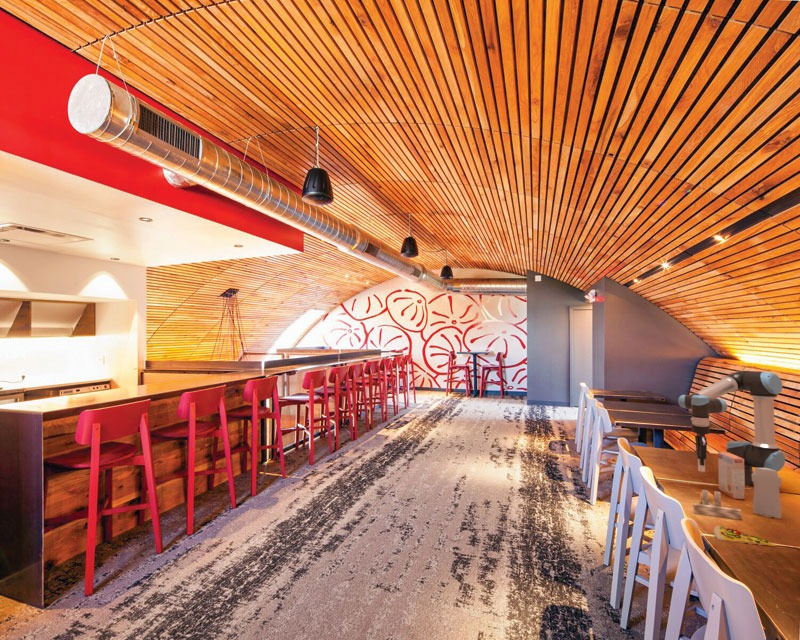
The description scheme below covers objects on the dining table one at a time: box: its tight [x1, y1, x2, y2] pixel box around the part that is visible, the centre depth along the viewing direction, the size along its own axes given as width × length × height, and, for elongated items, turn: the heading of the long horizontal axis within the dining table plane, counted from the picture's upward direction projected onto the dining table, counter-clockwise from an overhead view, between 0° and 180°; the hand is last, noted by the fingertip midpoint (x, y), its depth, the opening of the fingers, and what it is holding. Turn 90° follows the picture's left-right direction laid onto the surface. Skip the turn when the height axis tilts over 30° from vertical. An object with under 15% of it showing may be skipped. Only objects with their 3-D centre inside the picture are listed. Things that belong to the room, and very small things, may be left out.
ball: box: [699, 491, 715, 504], centre depth 214 cm, size 6×6×6 cm
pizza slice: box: [712, 525, 778, 547], centre depth 175 cm, size 16×21×3 cm
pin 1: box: [701, 489, 709, 505], centre depth 208 cm, size 2×2×8 cm
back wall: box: [693, 503, 743, 521], centre depth 199 cm, size 18×2×4 cm, turn 68°
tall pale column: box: [752, 467, 782, 520], centre depth 200 cm, size 11×4×22 cm, turn 54°
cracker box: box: [717, 451, 746, 501], centre depth 228 cm, size 14×6×21 cm, turn 168°
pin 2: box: [713, 490, 722, 507], centre depth 206 cm, size 2×2×8 cm
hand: (701, 471), depth 223 cm, fingers closed
